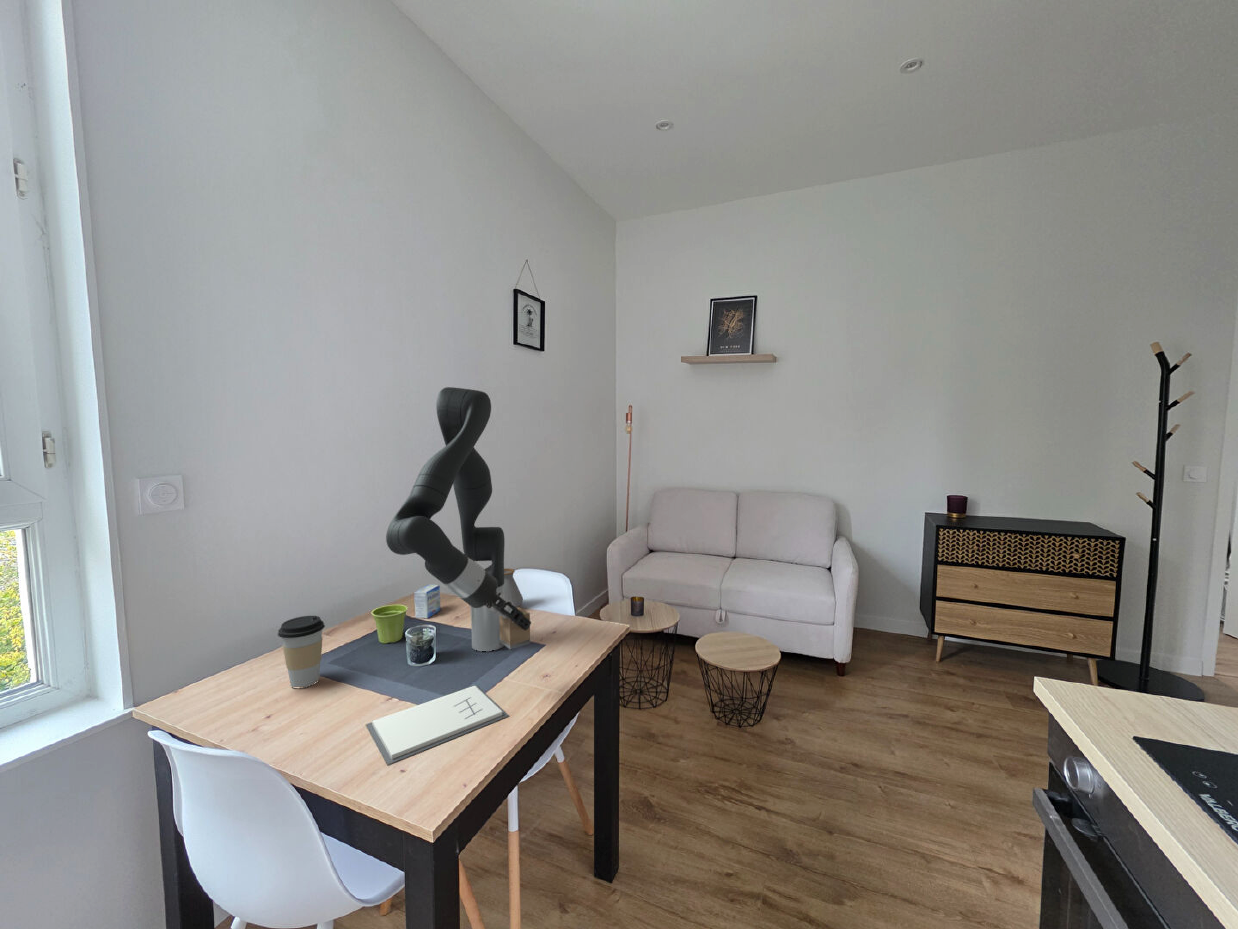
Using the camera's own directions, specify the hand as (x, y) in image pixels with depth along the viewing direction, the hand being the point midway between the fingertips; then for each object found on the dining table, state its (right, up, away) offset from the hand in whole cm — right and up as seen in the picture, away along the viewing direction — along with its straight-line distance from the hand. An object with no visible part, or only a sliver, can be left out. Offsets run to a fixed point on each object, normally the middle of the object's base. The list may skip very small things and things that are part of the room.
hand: (521, 622), depth 115 cm
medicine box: (-40, -13, +49) cm, 65 cm away
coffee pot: (-19, -13, +50) cm, 55 cm away
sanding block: (-1, -4, -1) cm, 5 cm away
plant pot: (-44, -14, +30) cm, 55 cm away
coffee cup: (-53, -16, +5) cm, 56 cm away
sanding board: (-15, -17, -11) cm, 25 cm away
